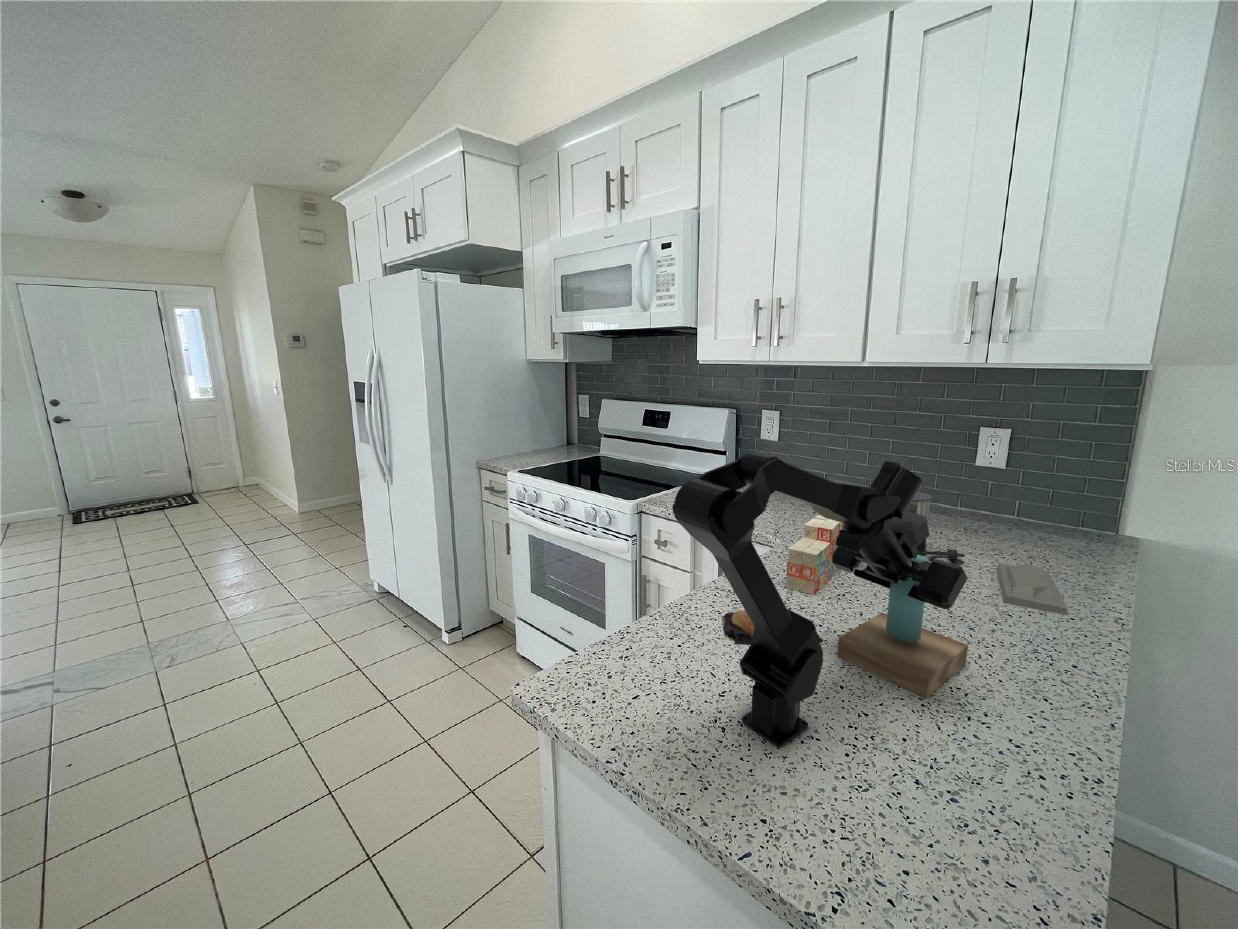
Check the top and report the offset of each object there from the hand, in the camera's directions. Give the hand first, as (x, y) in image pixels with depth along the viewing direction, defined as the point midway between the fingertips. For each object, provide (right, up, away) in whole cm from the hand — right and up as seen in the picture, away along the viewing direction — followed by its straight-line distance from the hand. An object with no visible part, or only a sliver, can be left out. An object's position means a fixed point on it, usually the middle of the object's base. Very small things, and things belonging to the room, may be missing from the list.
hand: (911, 594), depth 84 cm
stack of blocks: (-2, -5, +36) cm, 36 cm away
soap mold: (+40, -6, +27) cm, 48 cm away
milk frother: (+29, -2, +47) cm, 55 cm away
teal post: (-1, -7, +1) cm, 7 cm away
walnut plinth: (-1, -11, +2) cm, 12 cm away
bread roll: (-24, -10, +12) cm, 29 cm away
